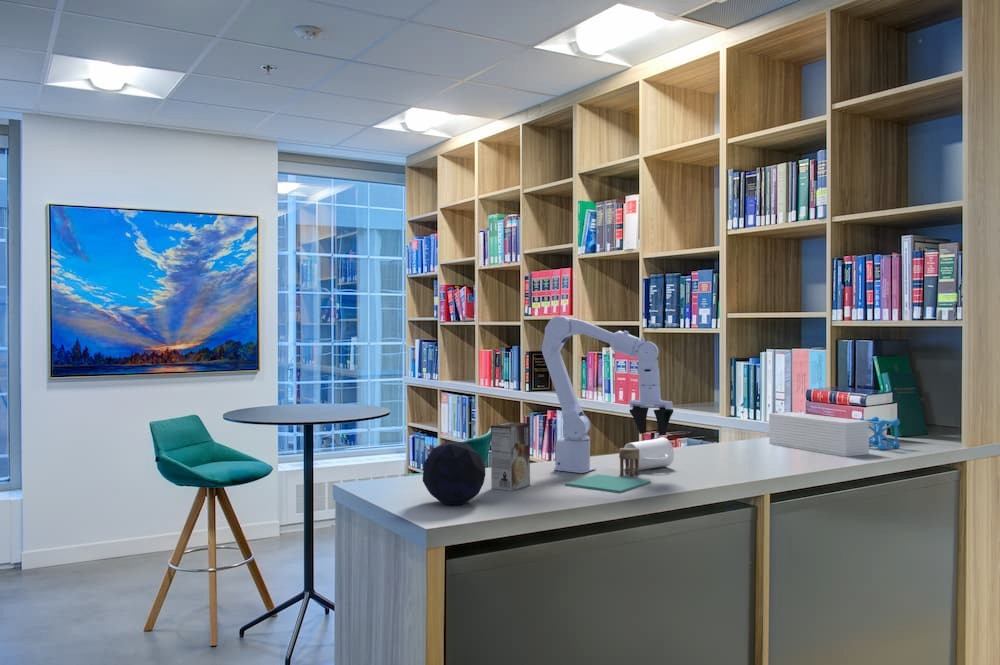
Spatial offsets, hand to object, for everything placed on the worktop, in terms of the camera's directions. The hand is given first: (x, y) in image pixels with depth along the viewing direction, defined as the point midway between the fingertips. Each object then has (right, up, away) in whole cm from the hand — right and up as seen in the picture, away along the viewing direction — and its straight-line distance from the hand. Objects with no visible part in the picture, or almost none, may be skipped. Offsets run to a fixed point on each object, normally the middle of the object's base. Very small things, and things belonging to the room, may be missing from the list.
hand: (652, 434), depth 218 cm
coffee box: (-39, -11, -17) cm, 45 cm away
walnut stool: (-7, -11, -1) cm, 13 cm away
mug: (+7, -7, +10) cm, 14 cm away
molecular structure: (+85, -11, +47) cm, 98 cm away
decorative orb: (-53, -12, -36) cm, 65 cm away
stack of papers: (+64, -11, +46) cm, 79 cm away
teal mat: (-14, -11, -14) cm, 23 cm away
